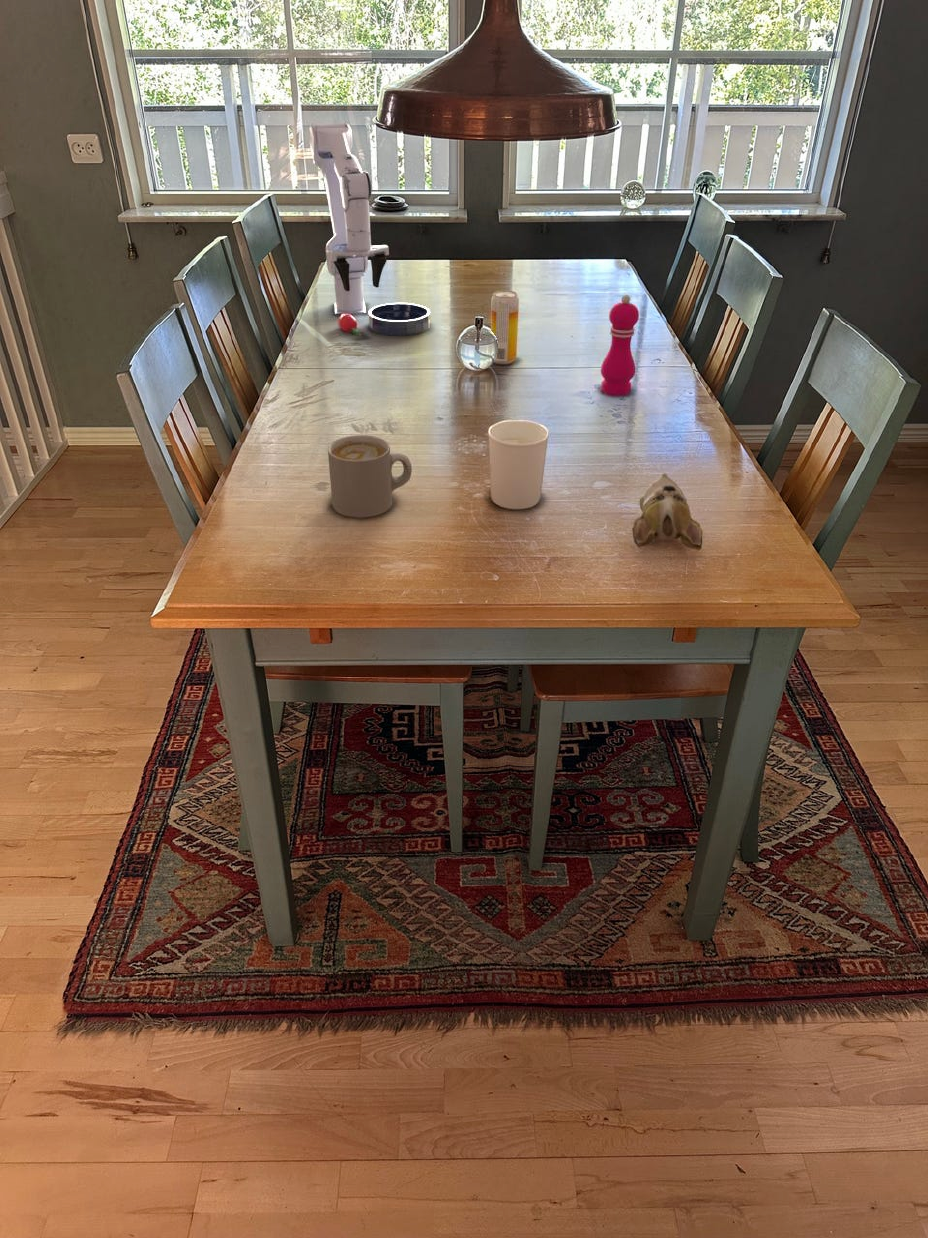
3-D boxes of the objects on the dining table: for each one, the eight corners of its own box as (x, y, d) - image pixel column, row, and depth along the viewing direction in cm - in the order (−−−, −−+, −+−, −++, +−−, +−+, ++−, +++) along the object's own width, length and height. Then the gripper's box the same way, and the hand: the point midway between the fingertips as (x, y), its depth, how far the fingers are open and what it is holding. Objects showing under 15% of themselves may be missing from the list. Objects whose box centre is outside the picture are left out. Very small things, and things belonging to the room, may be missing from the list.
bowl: (368, 319, 230) (367, 303, 228) (427, 317, 232) (426, 302, 229) (370, 338, 218) (370, 322, 215) (432, 336, 219) (432, 320, 217)
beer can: (516, 356, 208) (519, 290, 200) (515, 365, 203) (518, 298, 195) (490, 355, 209) (492, 289, 200) (488, 364, 204) (490, 296, 195)
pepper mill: (631, 398, 188) (643, 301, 176) (597, 395, 189) (606, 298, 178) (633, 385, 194) (645, 291, 182) (600, 383, 195) (609, 288, 183)
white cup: (509, 479, 157) (512, 414, 150) (555, 496, 152) (561, 430, 145) (474, 499, 150) (475, 432, 144) (521, 517, 145) (525, 449, 139)
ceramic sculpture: (699, 465, 142) (712, 516, 130) (691, 512, 147) (702, 564, 135) (632, 462, 142) (638, 513, 131) (626, 509, 148) (631, 561, 136)
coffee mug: (331, 518, 145) (326, 462, 139) (333, 490, 153) (328, 435, 147) (414, 515, 146) (413, 459, 140) (411, 487, 154) (409, 433, 148)
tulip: (336, 328, 224) (335, 312, 221) (351, 326, 225) (350, 310, 223) (352, 341, 216) (351, 324, 214) (367, 339, 217) (367, 322, 215)
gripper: (335, 235, 206) (339, 295, 214) (393, 229, 212) (395, 288, 220) (324, 229, 211) (329, 288, 219) (381, 223, 217) (383, 281, 225)
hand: (361, 288), depth 220 cm, fingers open, 7 cm apart
